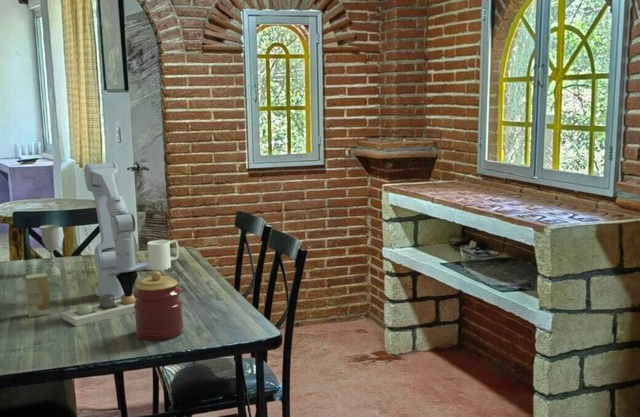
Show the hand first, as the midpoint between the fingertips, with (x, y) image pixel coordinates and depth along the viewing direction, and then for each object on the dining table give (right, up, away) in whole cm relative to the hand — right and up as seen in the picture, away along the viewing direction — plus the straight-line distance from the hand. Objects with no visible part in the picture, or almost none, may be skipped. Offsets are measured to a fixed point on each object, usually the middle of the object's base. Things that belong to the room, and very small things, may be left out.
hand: (128, 295), depth 220 cm
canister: (+15, -8, -23) cm, 29 cm away
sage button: (-10, -5, -9) cm, 14 cm away
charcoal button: (-5, -3, -4) cm, 7 cm away
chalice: (-41, +2, +47) cm, 62 cm away
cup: (0, +4, +52) cm, 53 cm away
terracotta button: (0, -3, +1) cm, 3 cm away
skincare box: (-26, -5, -3) cm, 27 cm away
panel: (-5, -5, -4) cm, 8 cm away
